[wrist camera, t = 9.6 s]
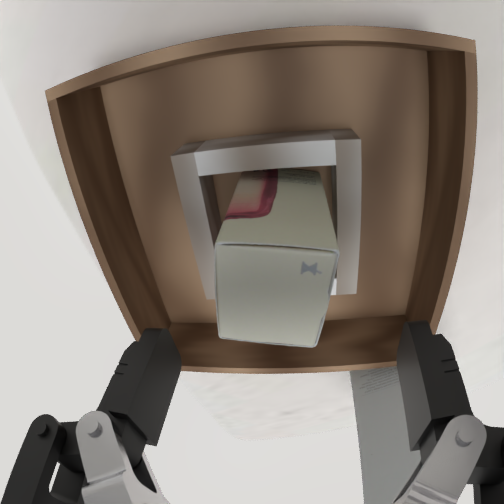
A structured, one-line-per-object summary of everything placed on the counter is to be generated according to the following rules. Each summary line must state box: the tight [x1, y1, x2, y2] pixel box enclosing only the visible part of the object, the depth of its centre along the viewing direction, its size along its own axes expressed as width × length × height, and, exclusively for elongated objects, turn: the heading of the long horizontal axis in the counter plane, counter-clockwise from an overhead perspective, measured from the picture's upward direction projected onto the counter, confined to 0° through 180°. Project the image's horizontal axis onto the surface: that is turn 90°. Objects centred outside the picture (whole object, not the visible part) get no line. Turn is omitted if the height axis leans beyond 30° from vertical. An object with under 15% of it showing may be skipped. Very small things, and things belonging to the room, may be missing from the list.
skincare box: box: [350, 366, 421, 504], centre depth 19 cm, size 8×6×15 cm
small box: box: [214, 168, 340, 348], centre depth 15 cm, size 5×4×8 cm
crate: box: [45, 26, 477, 374], centre depth 17 cm, size 19×19×5 cm
